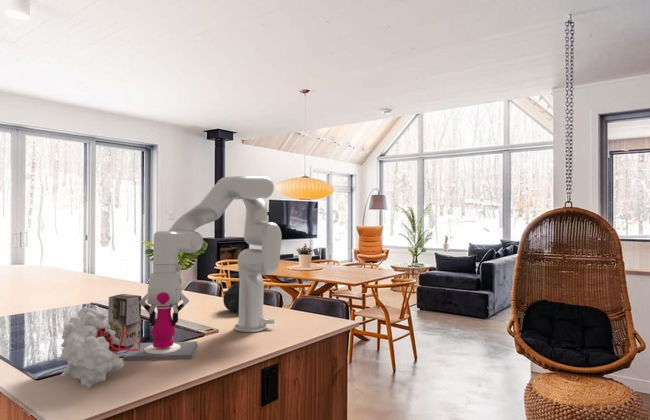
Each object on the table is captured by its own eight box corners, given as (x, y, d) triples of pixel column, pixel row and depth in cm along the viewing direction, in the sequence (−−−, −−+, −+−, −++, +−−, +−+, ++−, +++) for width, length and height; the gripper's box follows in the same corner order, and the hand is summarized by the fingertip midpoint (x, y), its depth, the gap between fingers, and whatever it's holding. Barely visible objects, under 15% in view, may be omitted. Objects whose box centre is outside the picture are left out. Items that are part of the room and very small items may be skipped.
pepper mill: (178, 342, 140) (180, 281, 141) (168, 349, 133) (170, 285, 133) (157, 341, 141) (159, 281, 141) (146, 347, 134) (148, 284, 134)
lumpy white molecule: (134, 393, 122) (97, 332, 134) (161, 346, 118) (120, 287, 129) (63, 418, 105) (26, 345, 117) (91, 364, 101) (50, 294, 112)
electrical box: (141, 342, 147) (142, 295, 147) (125, 347, 141) (126, 298, 142) (122, 338, 151) (124, 293, 151) (106, 343, 145) (108, 296, 145)
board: (197, 344, 145) (197, 340, 145) (191, 358, 132) (191, 353, 132) (135, 346, 142) (135, 342, 142) (123, 360, 128) (123, 356, 128)
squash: (250, 295, 210) (233, 274, 204) (266, 301, 199) (248, 279, 192) (230, 317, 203) (211, 295, 197) (245, 324, 192) (226, 302, 185)
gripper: (194, 267, 143) (192, 321, 142) (140, 267, 140) (138, 322, 139) (191, 270, 135) (189, 327, 135) (133, 270, 132) (132, 328, 132)
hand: (163, 324), depth 137 cm, fingers closed on pepper mill, 5 cm apart
